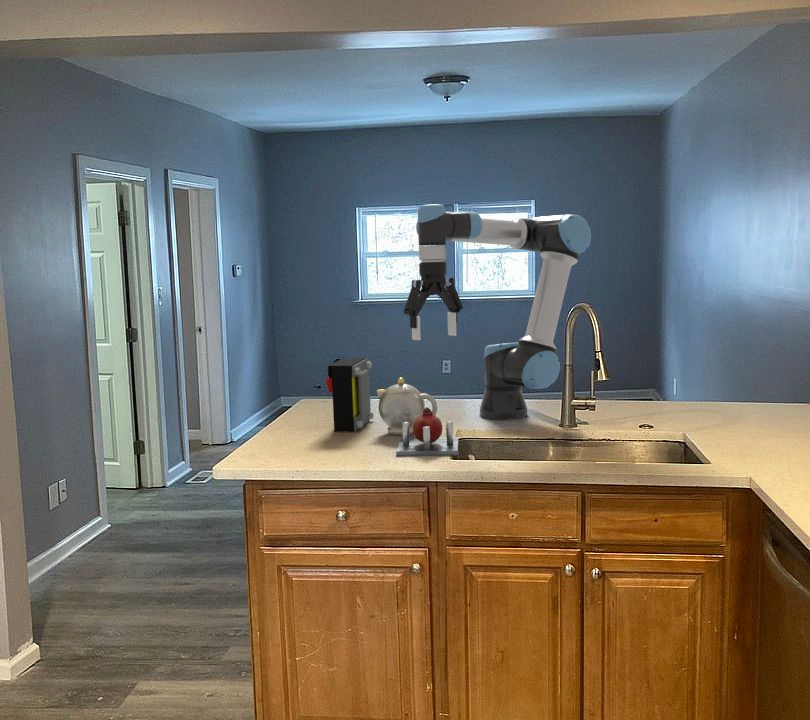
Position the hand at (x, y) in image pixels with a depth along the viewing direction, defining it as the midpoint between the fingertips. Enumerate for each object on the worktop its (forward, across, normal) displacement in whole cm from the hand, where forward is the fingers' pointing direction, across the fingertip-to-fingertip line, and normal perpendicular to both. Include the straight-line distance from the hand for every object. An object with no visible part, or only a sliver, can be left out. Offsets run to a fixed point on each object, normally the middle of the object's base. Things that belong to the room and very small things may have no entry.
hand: (434, 337), depth 236 cm
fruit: (+28, +10, +7) cm, 30 cm away
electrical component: (+29, +6, -32) cm, 44 cm away
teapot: (+29, +1, -12) cm, 31 cm away
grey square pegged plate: (+29, +10, +7) cm, 31 cm away
